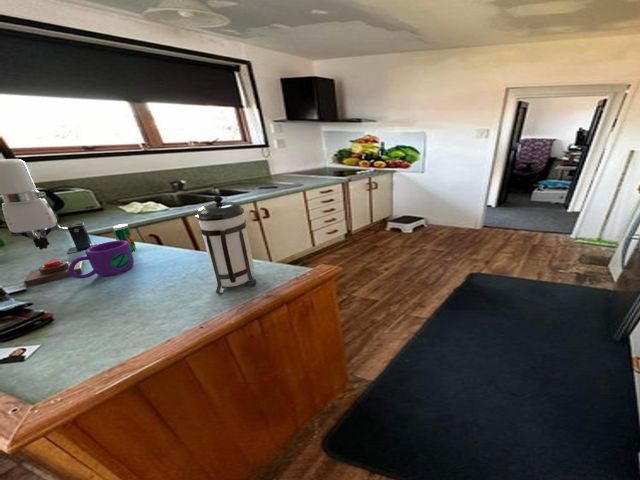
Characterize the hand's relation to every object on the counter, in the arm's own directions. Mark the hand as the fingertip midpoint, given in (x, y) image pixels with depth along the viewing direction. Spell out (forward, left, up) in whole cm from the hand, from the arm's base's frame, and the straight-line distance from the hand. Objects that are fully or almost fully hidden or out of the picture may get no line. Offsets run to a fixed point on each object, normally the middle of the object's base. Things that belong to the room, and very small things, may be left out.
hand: (44, 247), depth 96 cm
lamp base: (0, 0, -11) cm, 11 cm away
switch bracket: (+6, +26, -11) cm, 29 cm away
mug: (+13, -13, -11) cm, 22 cm away
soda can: (+20, +8, -11) cm, 24 cm away
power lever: (+2, +26, -1) cm, 26 cm away
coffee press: (+45, -56, -11) cm, 73 cm away
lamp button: (0, 0, -7) cm, 7 cm away
